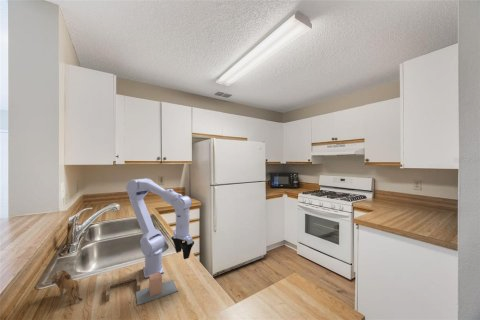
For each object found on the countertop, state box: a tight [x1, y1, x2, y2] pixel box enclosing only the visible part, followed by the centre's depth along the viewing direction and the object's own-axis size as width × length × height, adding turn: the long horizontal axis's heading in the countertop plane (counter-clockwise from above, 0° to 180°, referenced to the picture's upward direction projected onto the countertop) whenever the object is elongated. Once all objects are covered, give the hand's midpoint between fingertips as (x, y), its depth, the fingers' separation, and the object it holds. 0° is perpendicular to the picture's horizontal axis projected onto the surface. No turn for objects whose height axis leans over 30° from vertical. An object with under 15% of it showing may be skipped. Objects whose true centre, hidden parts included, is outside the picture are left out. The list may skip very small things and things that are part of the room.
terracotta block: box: [148, 272, 163, 296], centre depth 74 cm, size 4×4×6 cm
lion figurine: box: [48, 269, 84, 306], centre depth 72 cm, size 15×5×9 cm, turn 73°
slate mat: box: [135, 279, 178, 306], centre depth 74 cm, size 8×14×1 cm, turn 122°
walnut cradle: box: [105, 274, 141, 303], centre depth 76 cm, size 9×11×2 cm
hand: (182, 255), depth 84 cm, fingers open, 7 cm apart
